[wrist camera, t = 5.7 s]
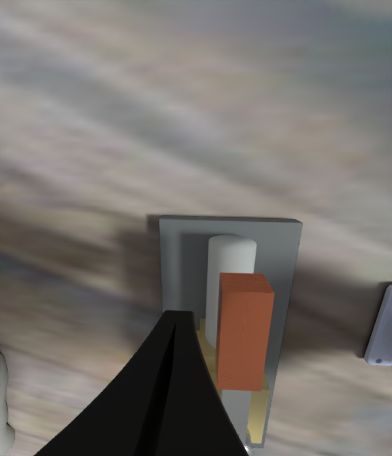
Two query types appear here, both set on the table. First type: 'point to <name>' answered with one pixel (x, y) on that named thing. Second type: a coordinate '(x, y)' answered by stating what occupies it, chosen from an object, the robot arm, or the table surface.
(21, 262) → the table surface
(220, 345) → the valve lever
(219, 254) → the valve stand
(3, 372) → the screwdriver
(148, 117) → the table surface
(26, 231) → the table surface
